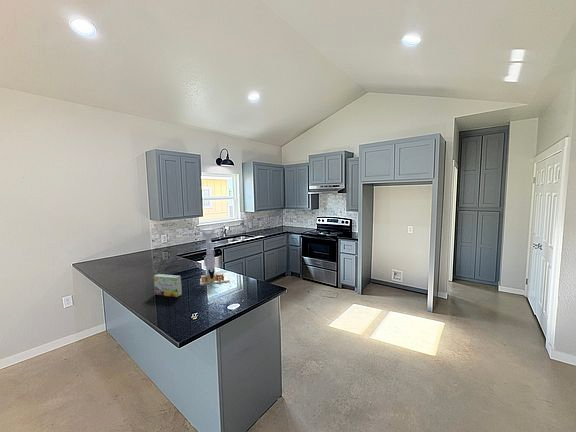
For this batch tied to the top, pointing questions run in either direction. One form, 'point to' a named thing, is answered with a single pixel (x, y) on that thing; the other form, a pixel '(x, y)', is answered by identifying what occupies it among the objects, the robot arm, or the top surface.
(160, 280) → the snack box
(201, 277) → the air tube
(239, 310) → the top surface
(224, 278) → the firebox plate
